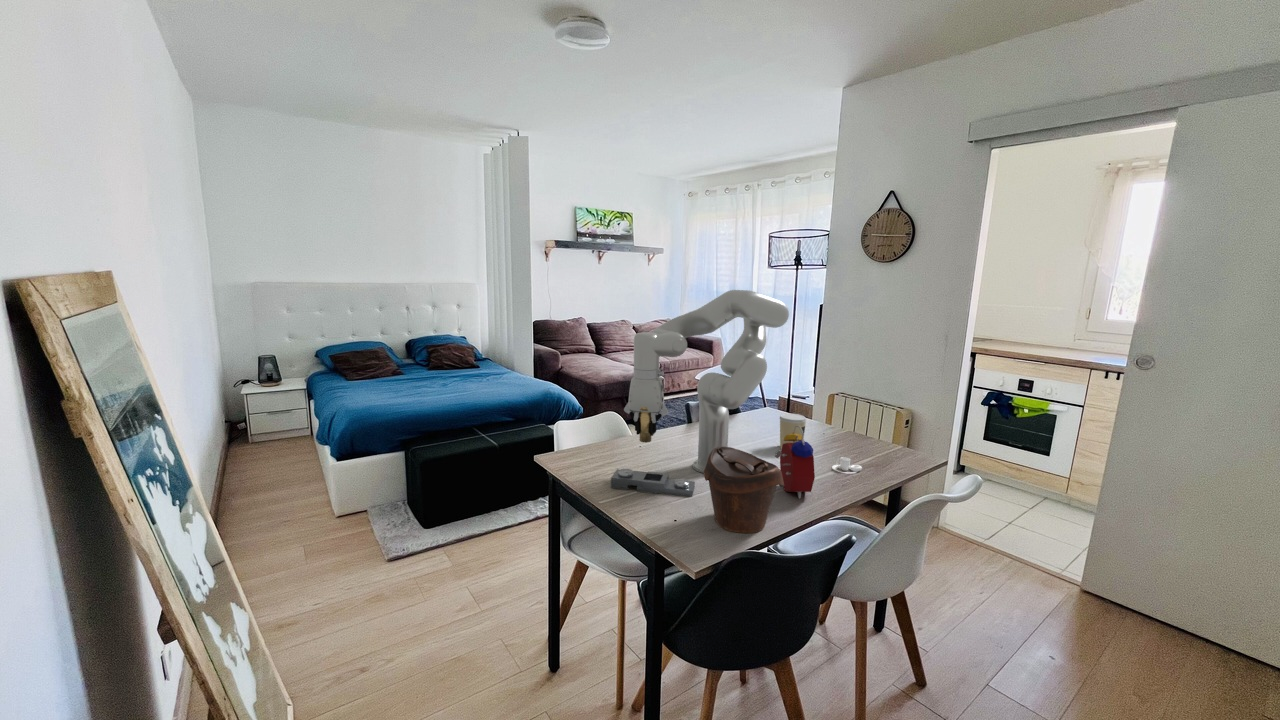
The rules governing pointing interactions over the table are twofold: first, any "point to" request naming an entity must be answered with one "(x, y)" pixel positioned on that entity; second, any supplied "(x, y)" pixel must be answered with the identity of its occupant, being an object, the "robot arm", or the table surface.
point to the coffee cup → (791, 426)
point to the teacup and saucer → (846, 466)
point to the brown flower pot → (741, 488)
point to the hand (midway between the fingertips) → (645, 433)
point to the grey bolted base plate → (651, 482)
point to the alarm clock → (797, 464)
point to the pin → (645, 425)
